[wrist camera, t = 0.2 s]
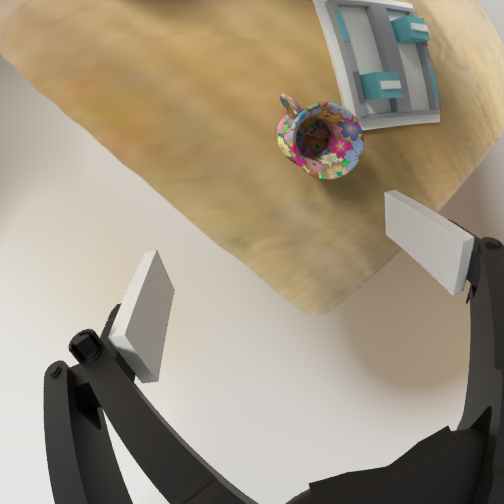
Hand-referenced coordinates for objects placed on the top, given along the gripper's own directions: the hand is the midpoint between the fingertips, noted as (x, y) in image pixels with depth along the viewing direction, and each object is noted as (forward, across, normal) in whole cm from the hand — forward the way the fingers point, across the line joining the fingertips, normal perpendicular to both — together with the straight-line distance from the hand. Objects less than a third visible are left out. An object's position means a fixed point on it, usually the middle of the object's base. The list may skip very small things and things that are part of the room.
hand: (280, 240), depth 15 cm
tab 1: (+26, +23, +8) cm, 36 cm away
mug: (+28, +9, +3) cm, 30 cm away
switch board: (+28, +27, +14) cm, 41 cm away
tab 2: (+26, +31, +19) cm, 45 cm away
